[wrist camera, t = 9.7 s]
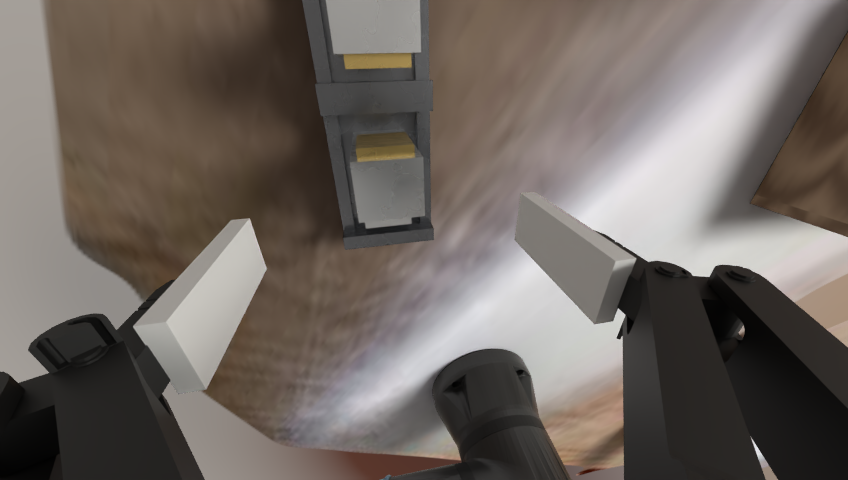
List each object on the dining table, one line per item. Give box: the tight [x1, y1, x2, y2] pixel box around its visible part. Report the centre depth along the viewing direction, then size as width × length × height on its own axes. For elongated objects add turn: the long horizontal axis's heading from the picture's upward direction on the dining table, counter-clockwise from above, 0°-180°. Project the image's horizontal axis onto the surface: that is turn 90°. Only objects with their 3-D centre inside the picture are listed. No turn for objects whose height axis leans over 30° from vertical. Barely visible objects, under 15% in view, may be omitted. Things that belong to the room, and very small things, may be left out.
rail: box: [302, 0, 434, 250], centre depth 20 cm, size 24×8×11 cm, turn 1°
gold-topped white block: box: [350, 129, 425, 229], centre depth 22 cm, size 8×4×9 cm, turn 2°
